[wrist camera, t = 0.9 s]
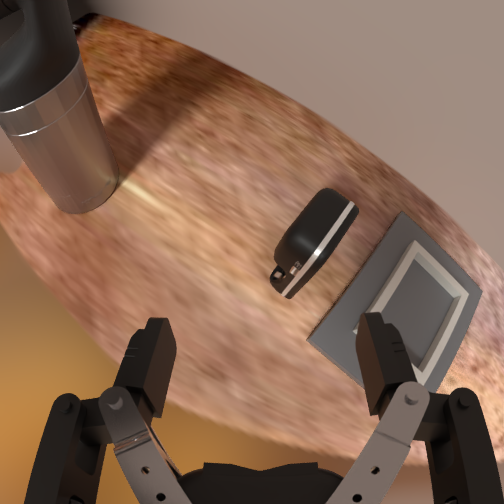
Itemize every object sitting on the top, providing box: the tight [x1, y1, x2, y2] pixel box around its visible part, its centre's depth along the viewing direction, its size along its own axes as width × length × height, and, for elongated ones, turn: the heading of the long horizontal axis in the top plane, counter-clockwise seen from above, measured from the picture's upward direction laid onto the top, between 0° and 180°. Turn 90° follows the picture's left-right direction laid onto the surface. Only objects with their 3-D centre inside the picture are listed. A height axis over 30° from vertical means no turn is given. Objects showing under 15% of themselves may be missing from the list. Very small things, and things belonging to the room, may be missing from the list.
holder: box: [307, 211, 483, 393], centre depth 32 cm, size 16×20×3 cm
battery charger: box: [270, 188, 359, 299], centre depth 28 cm, size 7×4×11 cm, turn 142°
